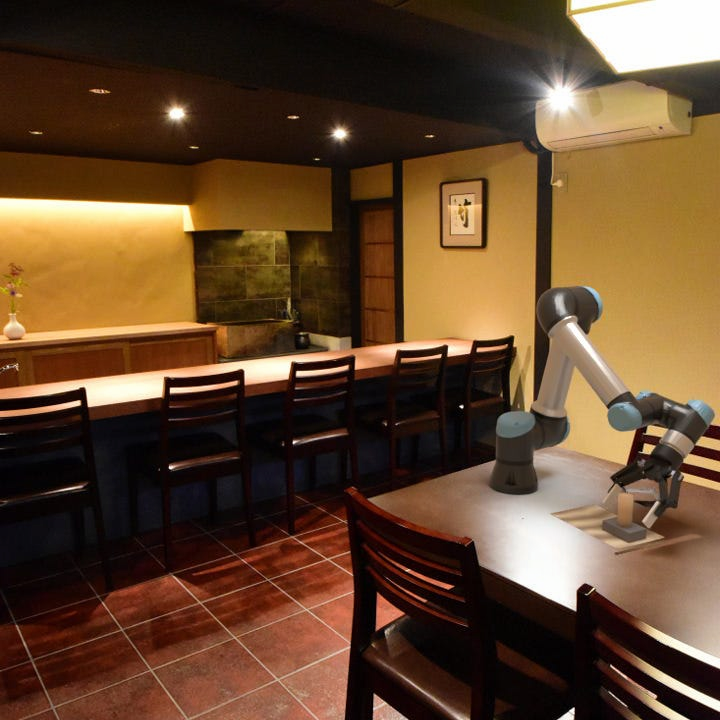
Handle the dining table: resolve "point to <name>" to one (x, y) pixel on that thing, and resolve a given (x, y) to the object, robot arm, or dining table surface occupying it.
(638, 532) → the sanding block
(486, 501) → the dining table surface
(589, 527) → the birch board
